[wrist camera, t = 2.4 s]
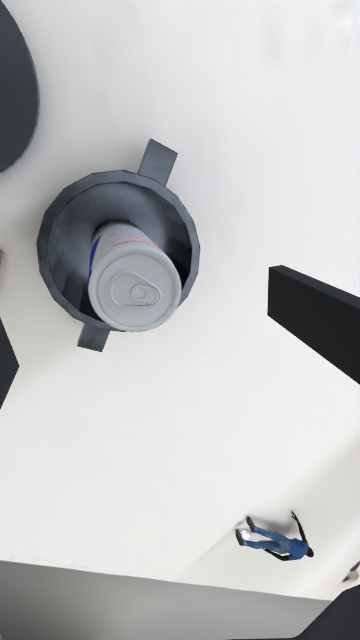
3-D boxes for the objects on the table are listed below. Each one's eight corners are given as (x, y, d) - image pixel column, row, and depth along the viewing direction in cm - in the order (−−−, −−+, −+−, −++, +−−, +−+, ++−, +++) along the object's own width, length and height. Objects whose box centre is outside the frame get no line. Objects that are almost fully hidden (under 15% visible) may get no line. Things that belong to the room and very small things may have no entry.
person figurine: (221, 533, 60) (288, 553, 65) (227, 557, 55) (299, 576, 60) (251, 496, 57) (319, 519, 62) (260, 518, 53) (332, 542, 58)
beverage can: (81, 228, 29) (70, 263, 16) (136, 211, 30) (167, 230, 17) (103, 280, 32) (108, 347, 18) (152, 263, 32) (192, 316, 19)
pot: (26, 307, 31) (10, 334, 26) (81, 114, 26) (76, 94, 20) (146, 340, 36) (155, 368, 31) (212, 185, 31) (238, 184, 25)
